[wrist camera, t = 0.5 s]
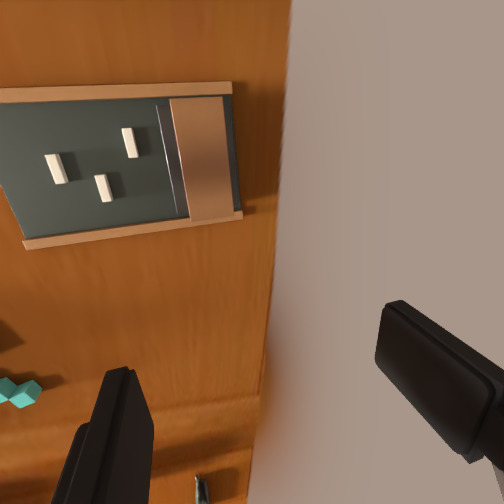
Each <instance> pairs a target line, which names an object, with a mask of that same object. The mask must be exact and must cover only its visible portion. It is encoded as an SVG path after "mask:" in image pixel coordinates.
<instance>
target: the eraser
mask: <svg viewBox="0 0 504 504" xmlns="http://www.w3.org/2000/svg"><path fill="white" fill-rule="evenodd" d="M169 100H170V104H169V105H156V108H157V113H158V118H159V123H160V128H161V133H162V139H163V144H164V149H165V154H166V159H167V164H168V169H169V174H170V180H171V185H172V190H173V195H174V200H175V205H176V210H177V214H182V213H189V214H190V220H191V222H195V221H202V220H209V219H216V218H223V217H231V216H234V206H239V199H238V188H237V177H236V166H235V155H234V144H233V133H232V122H231V111H230V102H223V97H198V98H174V99H169Z"/></svg>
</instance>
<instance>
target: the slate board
mask: <svg viewBox="0 0 504 504" xmlns="http://www.w3.org/2000/svg"><path fill="white" fill-rule="evenodd" d="M232 93H233V92H232V82H231V81H224V82H191V83H158V84H125V85H91V86H58V87H25V88H0V185H1V187H2V189H3V191H4V193H5V195H6V197H7V200H8V202H9V204H10V206H11V208H12V210H13V212H14V215H15V217H16V219H17V221H18V223H19V225H20V227H21V230H22V232H23V234H24V236H25V238H26V239H25V240H23V244H24V246H25V248H26V250H32V249H39V248H46V247H53V246H60V245H67V244H74V243H81V242H88V241H95V240H102V239H108V238H115V237H122V236H129V235H136V234H143V233H150V232H157V231H164V230H171V229H178V228H185V227H192V226H199V225H205V224H212V223H219V222H226V221H233V220H240V219H243V211H242V210H241V199H240V188H239V177H238V165H237V154H236V142H235V131H234V119H233V108H232V96H231V94H232ZM198 97H223V102H230V111H231V122H232V133H233V144H234V155H235V166H236V177H237V188H238V199H239V206H234V216H231V217H223V218H216V219H209V220H202V221H195V222H191V220H190V214H189V213H182V214H177V210H176V205H175V200H174V195H173V190H172V185H171V180H170V174H169V169H168V164H167V159H166V154H165V149H164V144H163V139H162V133H161V128H160V123H159V118H158V113H157V108H156V105H169V104H170V100H169V99H174V98H198ZM122 128H132V129H133V132H134V136H135V141H136V145H137V149H138V153H139V157H136V158H129V156H128V152H127V149H126V145H125V141H124V137H123V133H122ZM49 154H59V156H60V159H61V162H62V164H63V167H64V170H65V173H66V176H67V178H68V181H69V182H67V183H63V184H56V183H55V181H54V178H53V175H52V173H51V170H50V168H49V165H48V162H47V160H46V157H45V155H49ZM99 174H106V176H107V179H108V182H109V186H110V189H111V193H112V196H113V200H112V201H109V202H102V199H101V195H100V192H99V189H98V186H97V183H96V179H95V175H99Z"/></svg>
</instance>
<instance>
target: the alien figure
mask: <svg viewBox="0 0 504 504" xmlns="http://www.w3.org/2000/svg"><path fill="white" fill-rule="evenodd" d="M42 389H43V388H42V387H40V386H39V385H38V384H37V383H36V382H35V381H34V380H33V379H32V380H30V381H28V382H26V383H23V384H21V385H19V386H17V385H15V384H14V383H13V382H12V381H11V380H9V379H8V378H7V377H4V378H2V379H0V403H2V402H4V401H7V400H10V401H11V402H12V403H13V404H15V405H16V406H17V407H18V408H22V407H25V406H27V405H29V404H32V403H34V402H36V400H37V398H38V396H39V394H40V392H41V391H42Z"/></svg>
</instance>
